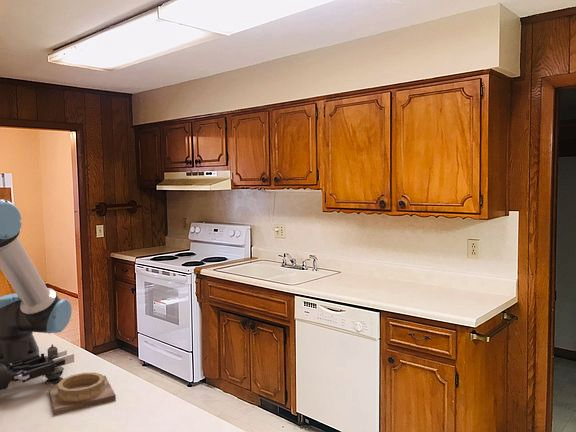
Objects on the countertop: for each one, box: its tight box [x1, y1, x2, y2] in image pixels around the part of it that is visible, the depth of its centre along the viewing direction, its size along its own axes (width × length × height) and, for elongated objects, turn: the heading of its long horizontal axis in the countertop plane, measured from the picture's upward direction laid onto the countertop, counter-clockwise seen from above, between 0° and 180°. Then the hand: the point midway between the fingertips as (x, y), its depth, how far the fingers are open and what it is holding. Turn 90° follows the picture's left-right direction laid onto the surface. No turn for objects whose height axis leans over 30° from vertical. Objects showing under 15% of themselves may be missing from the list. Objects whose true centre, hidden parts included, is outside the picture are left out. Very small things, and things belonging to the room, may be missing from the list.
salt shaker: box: [44, 343, 65, 386], centre depth 152 cm, size 6×6×12 cm
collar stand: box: [48, 372, 117, 416], centre depth 141 cm, size 16×16×4 cm
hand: (69, 355), depth 156 cm, fingers open, 4 cm apart
